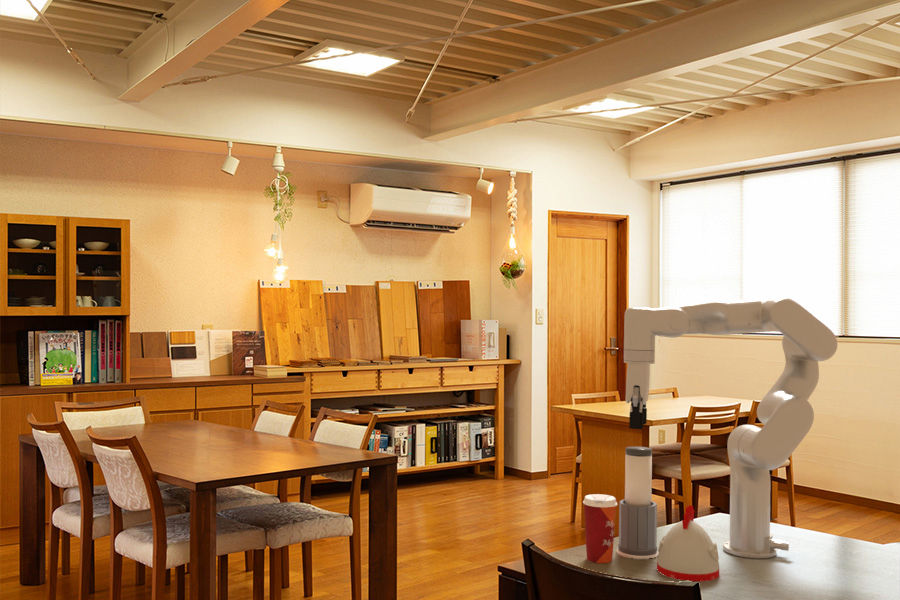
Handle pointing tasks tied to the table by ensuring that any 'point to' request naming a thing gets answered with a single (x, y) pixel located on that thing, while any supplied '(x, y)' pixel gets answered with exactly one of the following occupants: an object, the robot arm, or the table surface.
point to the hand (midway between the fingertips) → (638, 426)
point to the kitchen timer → (688, 552)
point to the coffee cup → (599, 527)
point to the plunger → (638, 476)
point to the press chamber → (637, 531)
